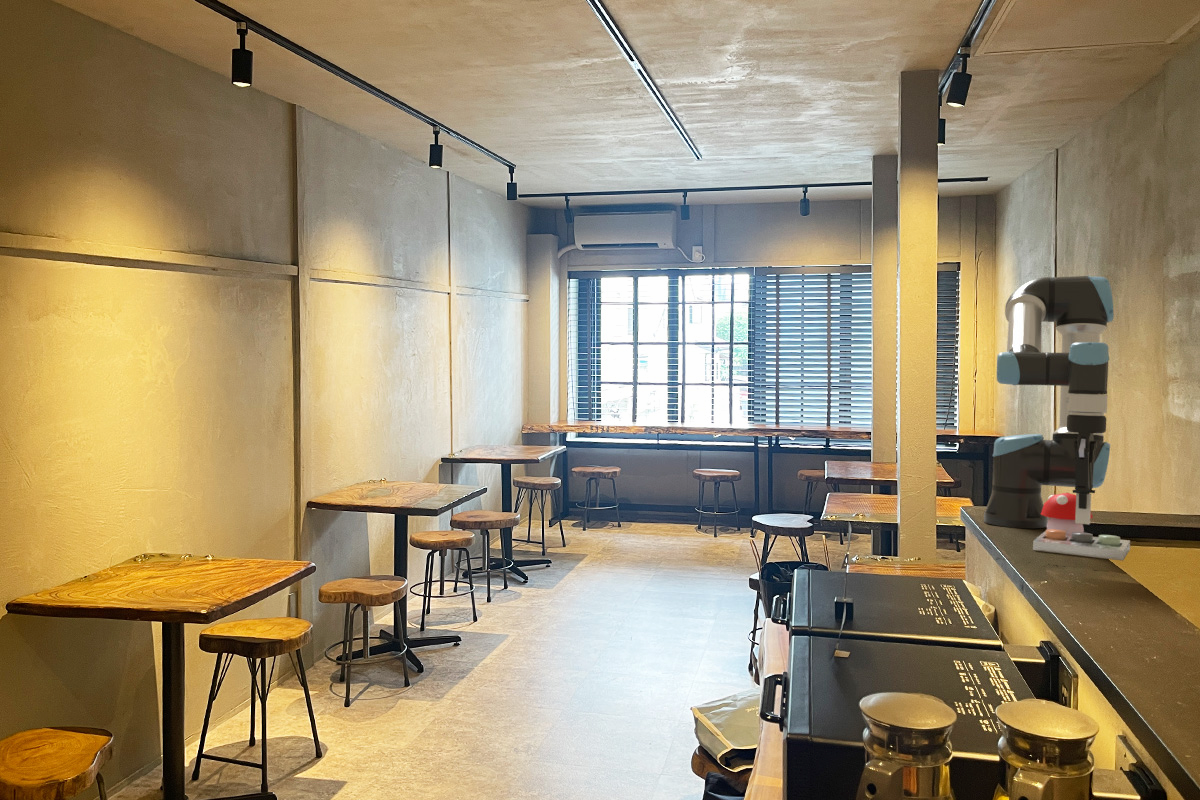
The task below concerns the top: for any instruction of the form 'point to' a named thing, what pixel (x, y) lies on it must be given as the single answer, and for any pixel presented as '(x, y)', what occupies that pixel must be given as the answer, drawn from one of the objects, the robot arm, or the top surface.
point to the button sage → (1109, 540)
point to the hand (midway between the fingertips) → (1082, 523)
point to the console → (1082, 547)
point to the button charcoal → (1082, 537)
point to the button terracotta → (1055, 534)
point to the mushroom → (1062, 513)
